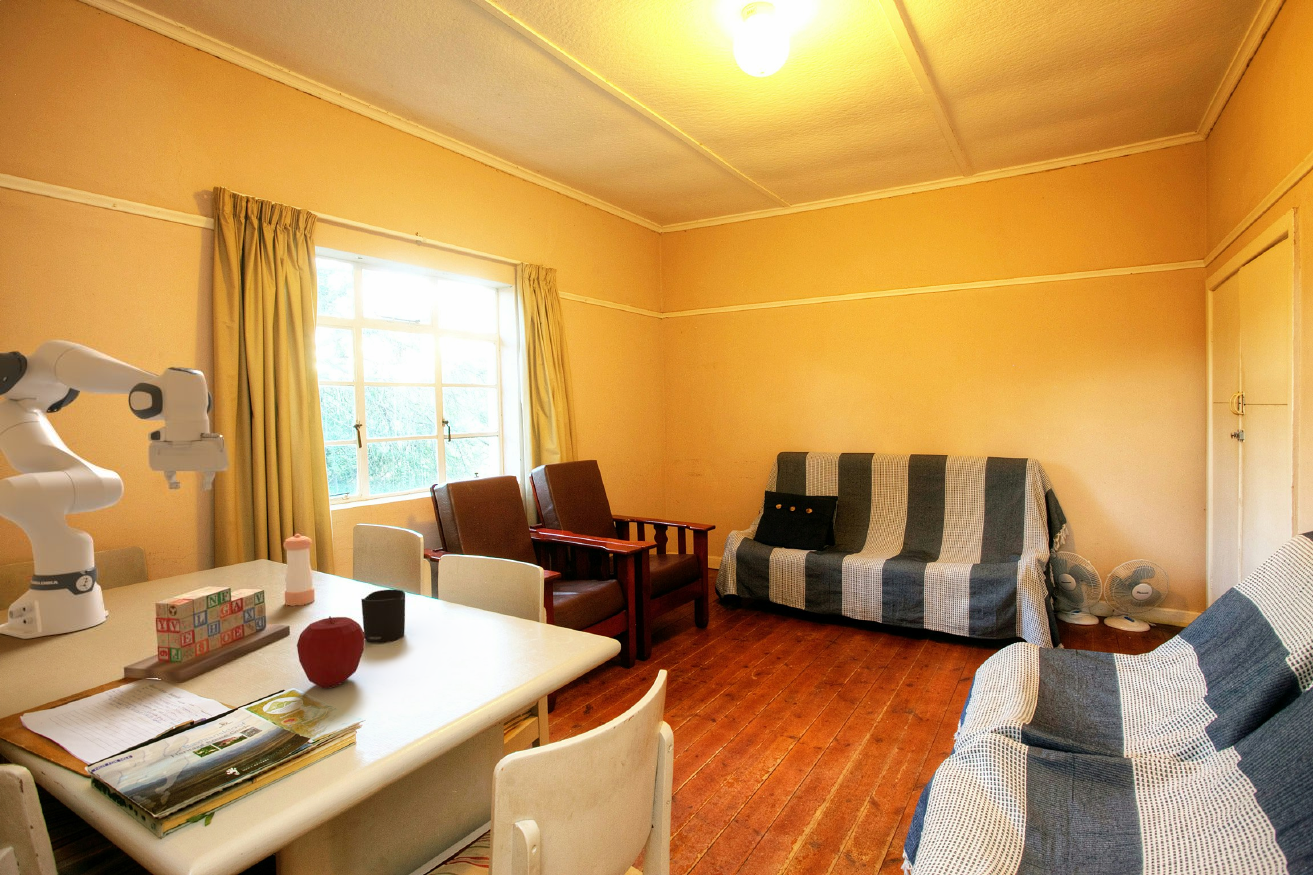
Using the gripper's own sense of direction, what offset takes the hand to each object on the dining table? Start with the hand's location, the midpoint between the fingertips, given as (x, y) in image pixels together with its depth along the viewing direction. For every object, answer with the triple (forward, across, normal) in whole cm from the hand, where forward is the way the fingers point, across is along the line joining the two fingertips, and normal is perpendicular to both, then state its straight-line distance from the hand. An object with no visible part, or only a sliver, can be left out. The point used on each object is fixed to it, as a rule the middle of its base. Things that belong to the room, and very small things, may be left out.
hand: (190, 489), depth 160 cm
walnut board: (+34, -21, +15) cm, 43 cm away
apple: (+34, -58, +24) cm, 71 cm away
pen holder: (+34, -52, -1) cm, 62 cm away
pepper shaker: (+34, -11, -22) cm, 42 cm away
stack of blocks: (+32, -21, +14) cm, 41 cm away
